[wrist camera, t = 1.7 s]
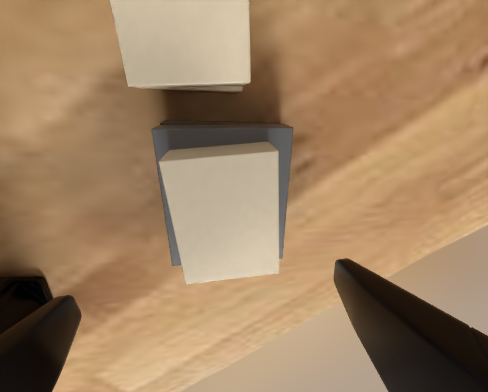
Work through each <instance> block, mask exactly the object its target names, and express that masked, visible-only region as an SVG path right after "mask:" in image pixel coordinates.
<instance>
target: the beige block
mask: <svg viewBox="0 0 488 392" xmlns="http://www.w3.org/2000/svg"><path fill="white" fill-rule="evenodd" d="M110 4H111V9H112V14H113V18H114V23H115V28H116V32H117V37H118V42H119V47H120V51H121V56H122V61H123V65H124V70H125V75H126V80H127V84H128V86H129V87H137V88H149V89H165V90H188V91H211V92H234V93H239V92H242V89H243V85H246V84H248V83H250V82H251V69H250V14H249V0H110Z"/></svg>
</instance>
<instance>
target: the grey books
mask: <svg viewBox="0 0 488 392" xmlns="http://www.w3.org/2000/svg"><path fill="white" fill-rule="evenodd" d="M152 135H153V142H154V148H155V155H156V161H157V168H158V174H159V181H160V187H161V194H162V201H163V207H164V214H165V220H166V227H167V233H168V240H169V247H170V253H171V260H172V265H173V266H178V265H182V264H181V260H180V255H179V251H178V246H177V242H176V237H175V233H174V228H173V224H172V219H171V215H170V210H169V206H168V201H167V197H166V192H165V188H164V183H163V179H162V174H161V170H160V165H159V160H160V159H161V158H162V157H163V156H164V155H165V154H166V153H167V152H168V151H169V150H176V149H188V148H199V147H211V146H222V145H234V144H245V143H257V142H269V143H270V144H272V145H273V146H274V147H275V148H276V149H277V150H278V155H279V259H282V255H283V244H284V232H285V220H286V208H287V196H288V185H289V173H290V161H291V149H292V137H293V127H290V126H288V125H285V124H281V123H254V122H220V121H186V120H166V121H163V122H161V123H160V125H159V126H157V127H155V128H153V129H152Z"/></svg>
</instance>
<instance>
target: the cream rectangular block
mask: <svg viewBox="0 0 488 392" xmlns="http://www.w3.org/2000/svg"><path fill="white" fill-rule="evenodd" d="M159 165H160V170H161V174H162V179H163V183H164V188H165V192H166V197H167V201H168V206H169V210H170V215H171V219H172V224H173V228H174V233H175V237H176V242H177V246H178V251H179V255H180V260H181V264H182V269H183V273H184V278H185V282H186V284H194V283H202V282H210V281H218V280H226V279H234V278H242V277H251V276H259V275H267V274H275V273H279V155H278V150H277V149H276V148H275V147H274V146H273V145H272V144H270V143H269V142H257V143H245V144H234V145H222V146H211V147H199V148H188V149H176V150H169V151H168V152H167V153H166V154H165V155H164V156H163V157H162V158H161V159H160V160H159Z"/></svg>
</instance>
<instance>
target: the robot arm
mask: <svg viewBox="0 0 488 392" xmlns="http://www.w3.org/2000/svg"><path fill="white" fill-rule="evenodd" d="M334 283H335V286H336V288H337V290H338V293H339V295H340V297H341V300H342V302H343V304H344V307H345V309H346V312H347V313H348V316H349V319H350V321H351V323H352V325H353V327H354V329H355V331H356V333H357V335H358V337H359V339H360V341H361V342H362V344H363V346H364V348H365V350H366V352H367V353H368V355H369V357H370V359H371V361H372V362H373V364H374V366H375V368H376V370H377V372H378V373H379V375H380V377H381V379H382V381H383V382H384V384H385V386H386V388H387V390H388V392H488V336H487V335H485V334H483V333H481V332H480V331H478V330H476V329H474V328H470V327H469V326H468V325H467V324H465V323H463V322H462V321H460V320H458V319H456V318H454V317H452V316H451V315H449V314H447V313H445V312H444V311H442V310H440V309H438V308H436V307H434V306H433V305H431V304H429V303H427V302H426V301H424V300H422V299H420V298H418V297H417V296H415V295H413V294H411V293H409V292H407V291H406V290H404V289H402V288H400V287H399V286H397V285H395V284H393V283H391V282H390V281H388V280H386V279H384V278H382V277H381V276H379V275H377V274H375V273H373V272H372V271H370V270H368V269H366V268H365V267H363V266H361V265H359V264H357V263H356V262H354V261H352V260H350V259H347V258H345V259H338V260H336V262H335V269H334ZM80 320H81V311H80V309H79V307H78V305H77V303H76V301H75V299H74V298H73V297H72V296H71V295H66V296H59V297H56V298H54V299H52V298H51V296H50V293H49V290H48V288H47V285H46V283H45V281H44V279H43V278H41V277H19V278H0V392H52V391H53V389H54V386H55V384H56V382H57V380H58V378H59V376H60V373H61V371H62V369H63V366H64V364H65V361H66V358H67V356H68V353H69V350H70V347H71V345H72V342H73V339H74V337H75V334H76V331H77V329H78V326H79V323H80Z"/></svg>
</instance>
